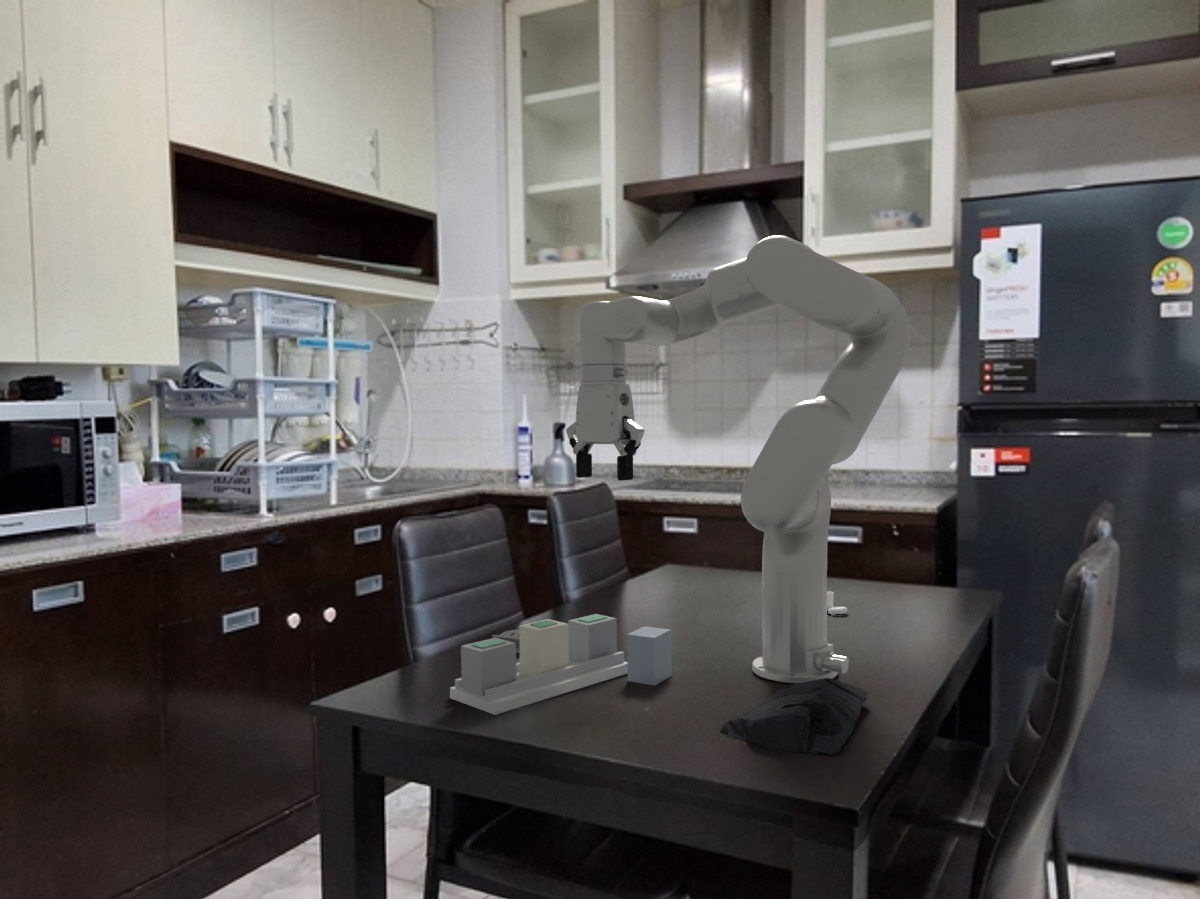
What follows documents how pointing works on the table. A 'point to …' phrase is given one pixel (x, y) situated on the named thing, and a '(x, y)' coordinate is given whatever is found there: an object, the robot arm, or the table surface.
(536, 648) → the block
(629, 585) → the table surface
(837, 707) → the black folded cloth
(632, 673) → the block
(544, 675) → the rail base
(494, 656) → the mounted module
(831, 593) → the white rounded block
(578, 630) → the mounted module
